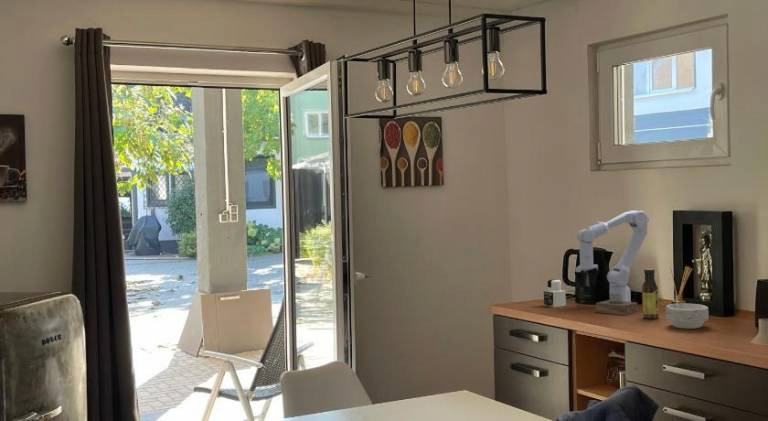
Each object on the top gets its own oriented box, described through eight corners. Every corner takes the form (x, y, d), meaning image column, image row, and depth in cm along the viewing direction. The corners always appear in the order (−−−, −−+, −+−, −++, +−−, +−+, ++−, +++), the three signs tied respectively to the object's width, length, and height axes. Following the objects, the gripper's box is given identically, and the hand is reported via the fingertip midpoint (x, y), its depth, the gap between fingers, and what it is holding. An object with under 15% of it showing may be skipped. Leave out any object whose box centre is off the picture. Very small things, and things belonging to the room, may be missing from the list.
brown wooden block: (608, 309, 366) (608, 300, 366) (637, 311, 356) (637, 302, 356) (595, 312, 359) (595, 302, 359) (624, 315, 349) (624, 305, 349)
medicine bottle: (543, 305, 383) (543, 279, 383) (556, 304, 386) (555, 278, 386) (553, 307, 376) (552, 281, 376) (566, 306, 379) (565, 279, 379)
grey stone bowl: (706, 331, 308) (706, 309, 308) (663, 329, 315) (663, 308, 314) (710, 324, 321) (710, 303, 321) (669, 322, 328) (669, 302, 328)
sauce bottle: (659, 319, 336) (658, 270, 336) (643, 319, 338) (642, 270, 337) (658, 316, 343) (656, 268, 342) (642, 316, 344) (640, 268, 343)
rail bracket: (612, 311, 360) (611, 292, 360) (622, 312, 357) (622, 293, 356) (609, 311, 359) (609, 293, 359) (620, 312, 355) (619, 294, 355)
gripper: (588, 254, 380) (588, 284, 380) (569, 257, 370) (570, 287, 371) (601, 255, 375) (602, 285, 375) (583, 257, 365) (583, 288, 365)
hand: (587, 286), depth 372 cm, fingers open, 7 cm apart
